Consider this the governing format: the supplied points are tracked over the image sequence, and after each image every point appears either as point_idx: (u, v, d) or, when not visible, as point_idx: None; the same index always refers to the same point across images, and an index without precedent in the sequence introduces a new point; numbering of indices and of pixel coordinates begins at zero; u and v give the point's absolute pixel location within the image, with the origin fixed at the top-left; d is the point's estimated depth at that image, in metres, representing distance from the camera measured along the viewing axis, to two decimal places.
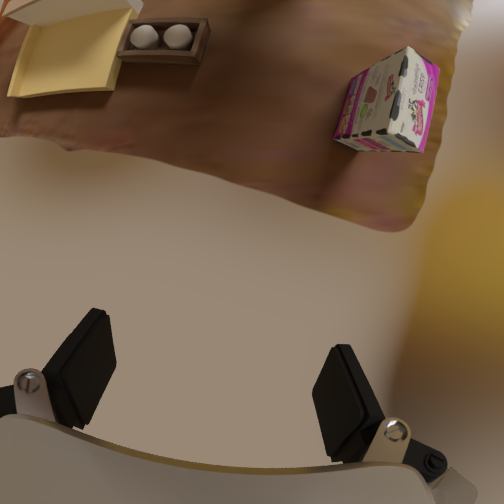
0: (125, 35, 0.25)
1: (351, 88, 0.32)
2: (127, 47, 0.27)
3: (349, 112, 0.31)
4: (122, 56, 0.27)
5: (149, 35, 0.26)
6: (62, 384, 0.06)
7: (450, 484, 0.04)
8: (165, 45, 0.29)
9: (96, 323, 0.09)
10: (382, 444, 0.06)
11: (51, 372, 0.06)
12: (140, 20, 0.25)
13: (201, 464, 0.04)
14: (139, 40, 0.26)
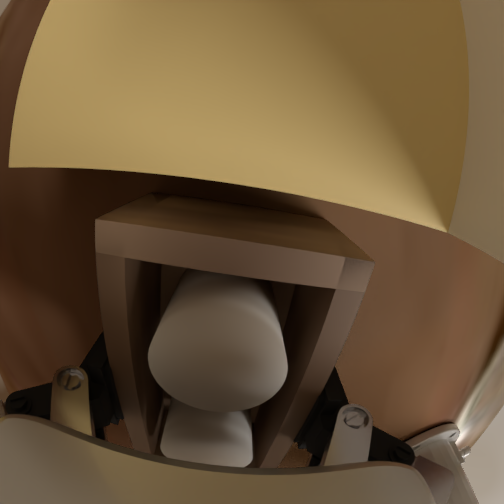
0: (245, 263, 0.06)
1: None
2: None
3: None
4: None
5: (205, 399, 0.07)
6: (104, 379, 0.07)
7: (423, 473, 0.05)
8: None
9: None
10: (344, 433, 0.06)
11: (94, 368, 0.06)
12: (337, 333, 0.07)
13: (201, 464, 0.04)
14: (179, 364, 0.06)
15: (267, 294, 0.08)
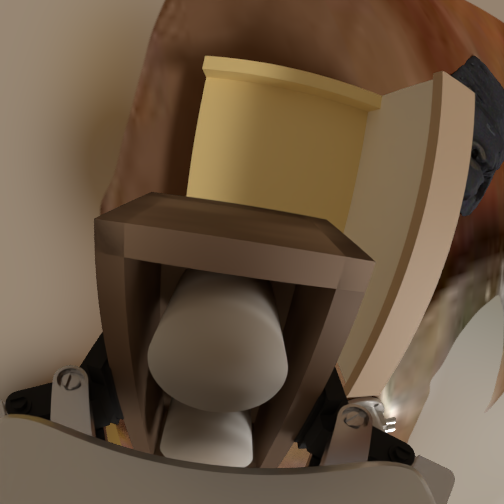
0: (245, 262, 0.06)
1: None
2: None
3: None
4: None
5: (205, 400, 0.07)
6: (104, 379, 0.07)
7: (423, 473, 0.05)
8: None
9: None
10: (344, 433, 0.06)
11: (94, 368, 0.06)
12: (338, 333, 0.07)
13: (201, 464, 0.04)
14: (178, 364, 0.06)
15: (267, 294, 0.08)
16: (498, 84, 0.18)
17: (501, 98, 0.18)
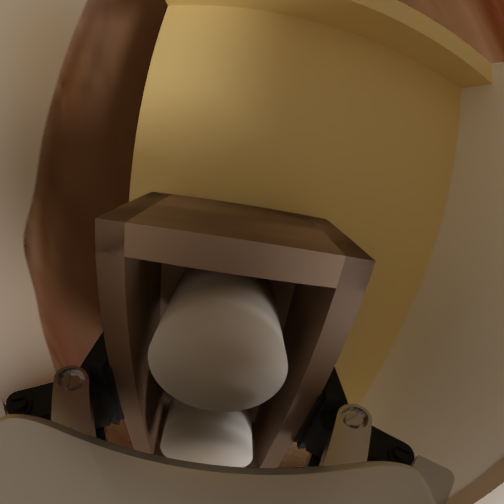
0: (245, 262, 0.06)
1: None
2: None
3: None
4: None
5: (206, 399, 0.07)
6: (105, 379, 0.07)
7: (422, 473, 0.05)
8: None
9: None
10: (344, 433, 0.06)
11: (95, 368, 0.06)
12: (338, 333, 0.07)
13: (201, 464, 0.04)
14: (179, 363, 0.06)
15: (267, 293, 0.08)
16: None
17: None
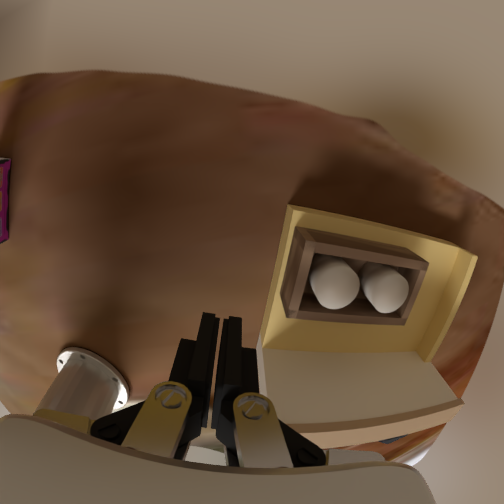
0: (412, 298, 0.21)
1: (0, 225, 0.23)
2: (409, 275, 0.22)
3: None
4: (419, 259, 0.20)
5: (380, 291, 0.20)
6: (204, 391, 0.07)
7: None
8: None
9: (214, 327, 0.10)
10: (249, 428, 0.06)
11: (197, 381, 0.07)
12: (389, 322, 0.22)
13: (201, 464, 0.04)
14: (396, 284, 0.20)
15: None
16: None
17: None
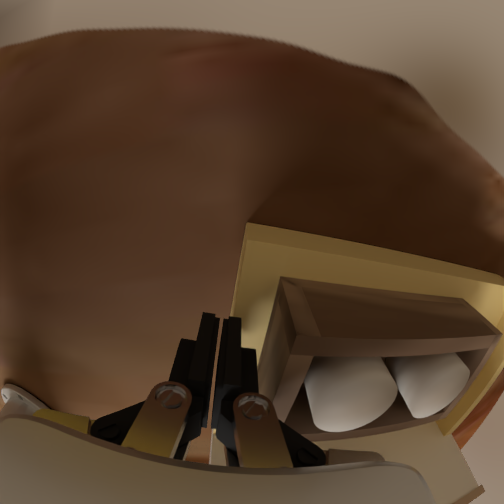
0: (467, 385, 0.10)
1: None
2: (468, 350, 0.11)
3: None
4: (491, 330, 0.09)
5: (428, 395, 0.09)
6: (204, 391, 0.07)
7: None
8: None
9: (214, 327, 0.10)
10: (249, 428, 0.06)
11: (197, 381, 0.07)
12: (427, 421, 0.11)
13: (201, 464, 0.04)
14: (453, 380, 0.09)
15: None
16: None
17: None
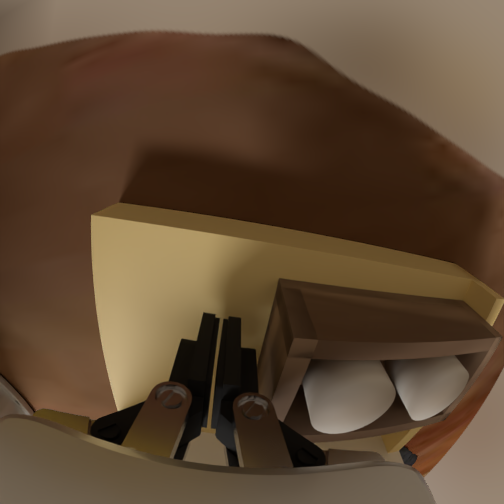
0: (466, 388, 0.10)
1: None
2: (468, 352, 0.10)
3: None
4: (491, 333, 0.09)
5: (426, 397, 0.09)
6: (204, 391, 0.07)
7: None
8: None
9: (214, 327, 0.10)
10: (249, 428, 0.06)
11: (197, 381, 0.07)
12: (425, 423, 0.11)
13: (201, 464, 0.04)
14: (452, 383, 0.09)
15: None
16: None
17: None
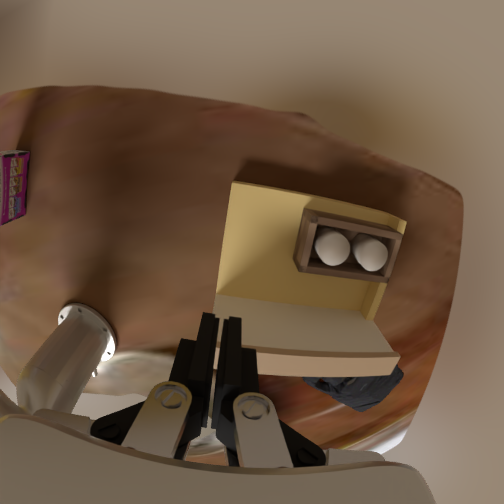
0: (391, 261, 0.30)
1: (20, 203, 0.31)
2: (389, 244, 0.31)
3: (13, 178, 0.28)
4: (395, 232, 0.29)
5: (366, 253, 0.29)
6: (204, 391, 0.07)
7: None
8: None
9: (214, 327, 0.10)
10: (249, 428, 0.06)
11: (197, 381, 0.07)
12: (375, 279, 0.31)
13: (201, 464, 0.04)
14: (377, 249, 0.29)
15: None
16: (388, 392, 0.46)
17: (380, 395, 0.45)
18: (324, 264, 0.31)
